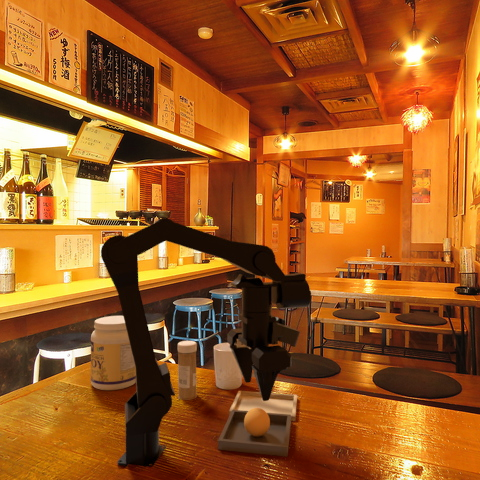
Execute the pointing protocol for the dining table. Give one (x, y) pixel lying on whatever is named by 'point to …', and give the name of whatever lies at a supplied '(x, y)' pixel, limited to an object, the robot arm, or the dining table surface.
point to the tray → (266, 403)
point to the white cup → (226, 367)
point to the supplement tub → (111, 355)
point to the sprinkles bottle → (187, 370)
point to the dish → (242, 441)
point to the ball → (257, 422)
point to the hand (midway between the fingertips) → (256, 390)
